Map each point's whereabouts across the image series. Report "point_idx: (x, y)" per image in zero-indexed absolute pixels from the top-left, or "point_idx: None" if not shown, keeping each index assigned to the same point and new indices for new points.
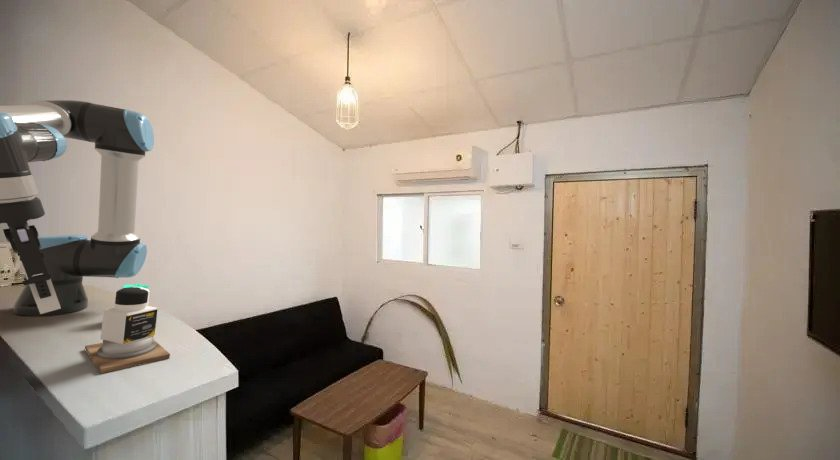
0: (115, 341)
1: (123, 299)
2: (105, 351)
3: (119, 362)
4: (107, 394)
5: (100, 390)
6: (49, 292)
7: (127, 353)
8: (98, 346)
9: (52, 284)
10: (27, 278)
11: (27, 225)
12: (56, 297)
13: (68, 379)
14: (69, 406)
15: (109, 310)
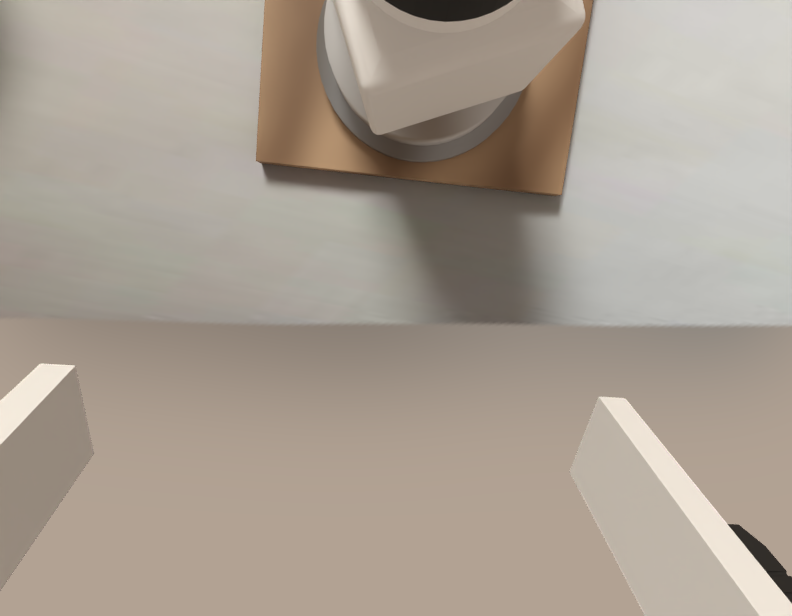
0: (474, 104)
1: None
2: (443, 142)
3: (545, 128)
4: (735, 231)
5: (689, 236)
6: (773, 565)
7: None
8: (300, 126)
9: (779, 593)
10: (10, 568)
11: None
12: (683, 471)
13: (527, 276)
14: (727, 321)
15: (410, 70)
